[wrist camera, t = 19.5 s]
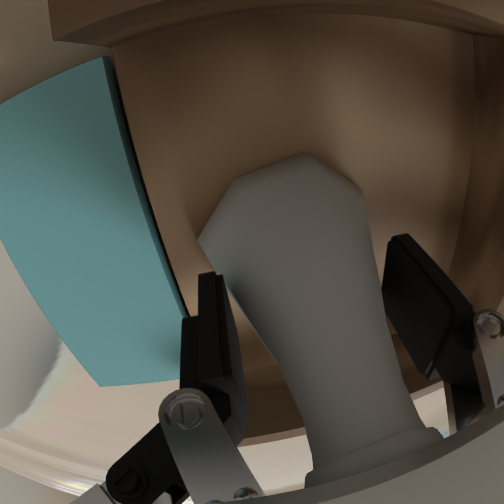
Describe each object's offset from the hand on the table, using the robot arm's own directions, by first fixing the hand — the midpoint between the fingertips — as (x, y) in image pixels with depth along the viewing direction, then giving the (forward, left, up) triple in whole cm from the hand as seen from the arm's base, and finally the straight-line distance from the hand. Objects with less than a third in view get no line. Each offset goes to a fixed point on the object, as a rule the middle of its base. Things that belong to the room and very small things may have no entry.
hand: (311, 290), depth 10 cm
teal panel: (0, +6, -3) cm, 6 cm away
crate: (0, -3, -5) cm, 6 cm away
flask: (0, 0, -4) cm, 4 cm away
